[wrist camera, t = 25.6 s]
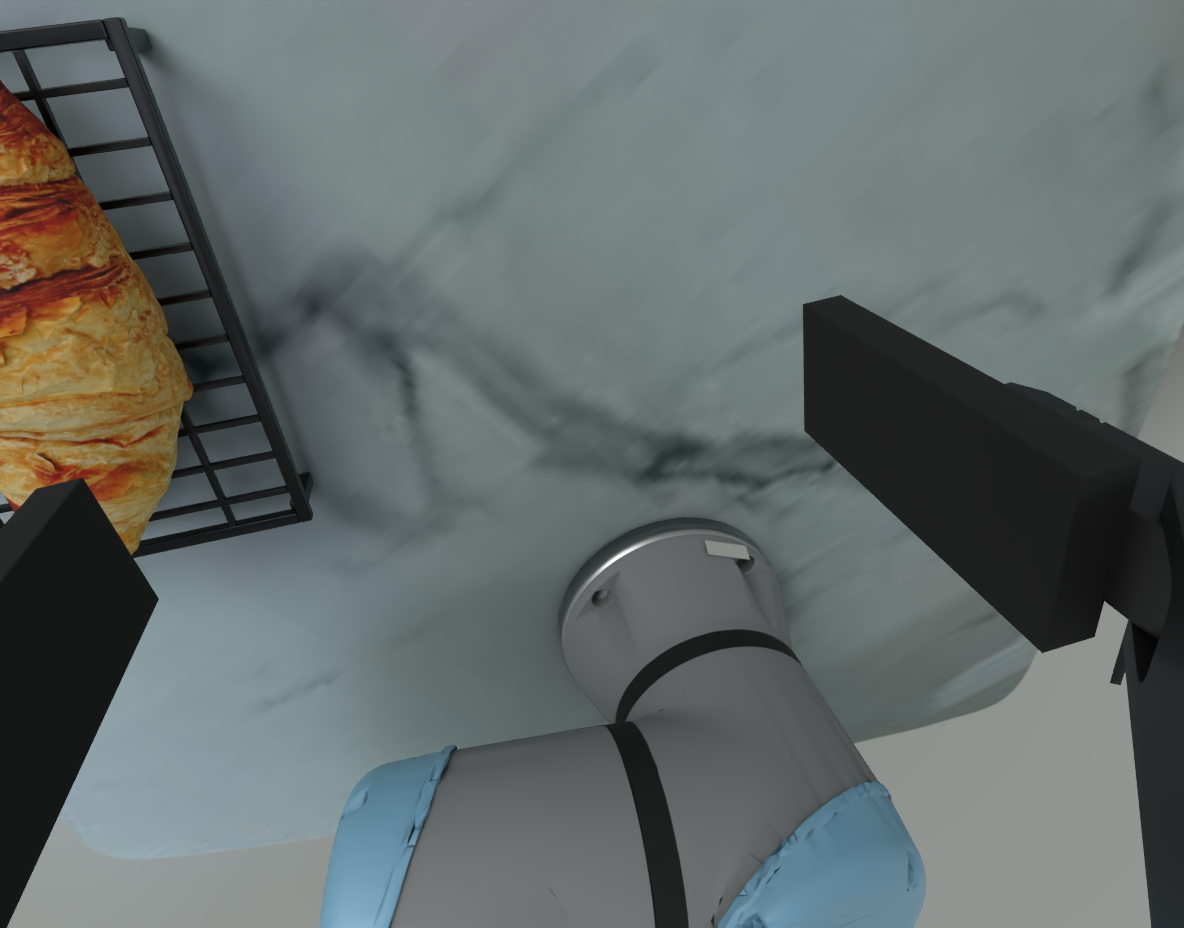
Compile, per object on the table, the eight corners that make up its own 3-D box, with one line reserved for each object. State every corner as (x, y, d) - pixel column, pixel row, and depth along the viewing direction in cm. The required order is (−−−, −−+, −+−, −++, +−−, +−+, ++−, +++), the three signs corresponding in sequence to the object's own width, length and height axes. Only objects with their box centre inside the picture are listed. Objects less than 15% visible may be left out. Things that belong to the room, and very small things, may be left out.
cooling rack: (319, 485, 40) (312, 520, 37) (48, 541, 38) (18, 582, 35) (149, 20, 29) (119, 17, 26) (-248, 68, 27) (-330, 70, 24)
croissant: (199, 509, 39) (251, 589, 34) (-40, 576, 33) (-20, 685, 28) (101, 59, 28) (155, 77, 23) (-277, 37, 22) (-314, 55, 17)
